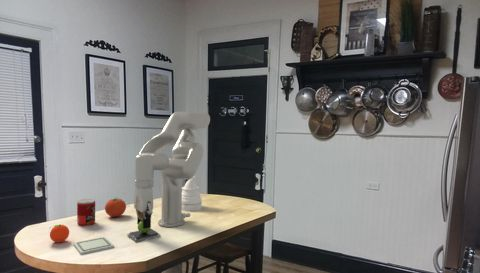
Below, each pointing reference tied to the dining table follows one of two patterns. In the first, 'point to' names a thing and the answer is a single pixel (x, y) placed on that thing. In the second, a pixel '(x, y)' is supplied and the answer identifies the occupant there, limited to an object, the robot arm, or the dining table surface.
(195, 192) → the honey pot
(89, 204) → the canned food
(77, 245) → the board
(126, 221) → the dining table surface
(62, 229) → the clementine
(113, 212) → the tomato
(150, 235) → the ink pad
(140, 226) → the snail figurine
